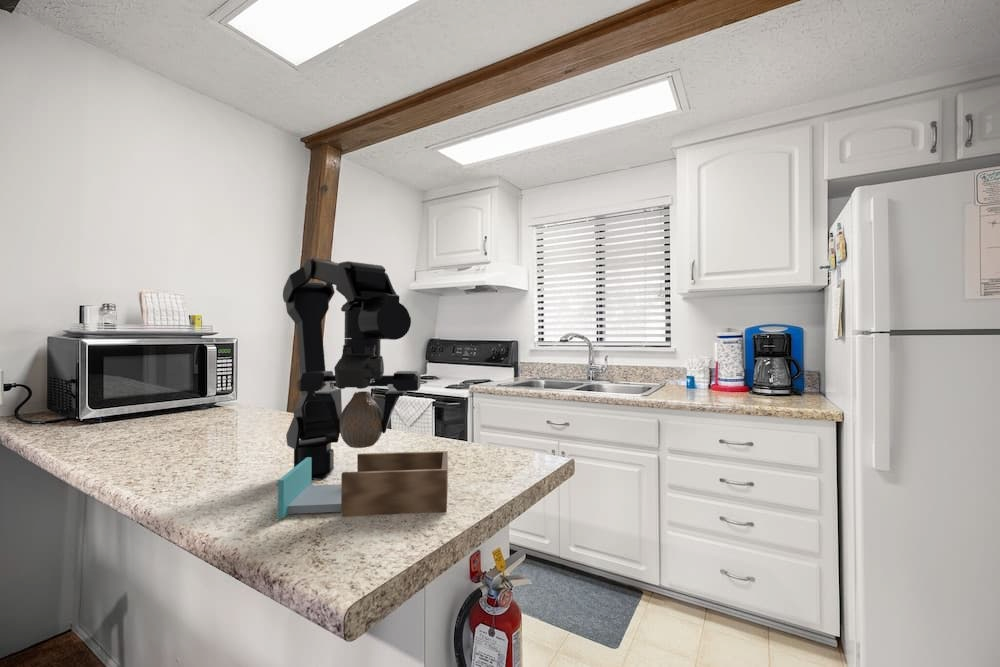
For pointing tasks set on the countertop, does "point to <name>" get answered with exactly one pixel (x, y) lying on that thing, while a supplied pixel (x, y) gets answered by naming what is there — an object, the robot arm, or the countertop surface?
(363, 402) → the vase
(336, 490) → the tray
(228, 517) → the countertop surface
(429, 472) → the caddy
